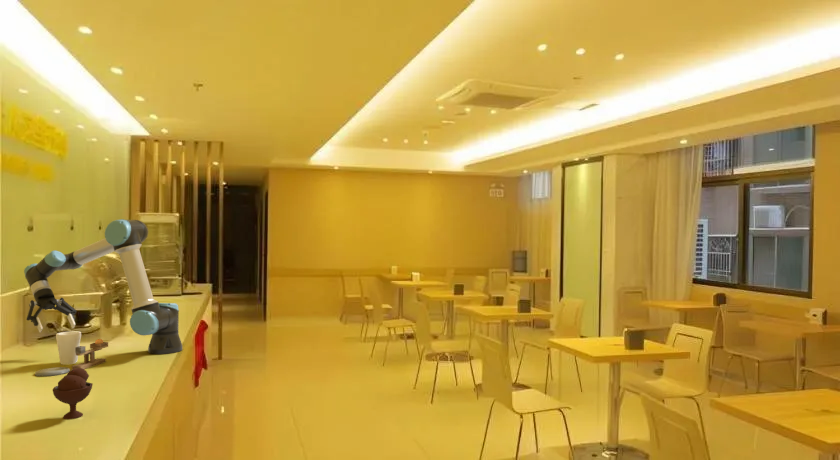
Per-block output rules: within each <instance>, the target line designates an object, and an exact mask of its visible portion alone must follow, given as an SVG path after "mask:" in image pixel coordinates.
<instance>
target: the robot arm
mask: <svg viewBox="0 0 840 460" xmlns="http://www.w3.org/2000/svg"><path fill="white" fill-rule="evenodd" d="M148 235H149V229H148V227H147V225H146V223H144V222H143V221H141V220H138V219H124V218H121V219H115V220H111V221H110V222H109V223H108V224H107V226H106V227H105V231H104V238H102V239H100V240H98V241H95V242H92V243H91V244H88V245H86V246H83V247H81V248H79V249H76V250H73V251H72V252H69V253H65V254H64V253H63V252H61V251H58V250H54V249H53V250H51V251H50V252H49V253H47V254H46V255H45V256H44V257H43V258H42V259H41V260H40V261H39V262H38V263H32V264H31V263H30V265H27V266H25V268H24V269H23V273H24V277H25V279H26V281H27V284H28V286H29V287H30V291H31V293H32V296H33V298H34V300H35V301H34V300H33V299H32V300H30V302H29V303H28V306H29V309H28V312H27V317H26V321H30V322H31V323H32V324H33V325H34V327H36V328H37V330H38V332H39V333H40V334H41V333H42V331H43V330H44V327H43V325H42V323H41V319H40V318H39V317H40V316H39V315H40V313H41V312H42V311H43V310H45V311H48V310H54V311H57V312H59V313H62V314H64V315H66V317H67V318H66V319H67V320H68V322H69V325H70V327H71V329H74V328H75V327H76V325H77V324H76V322H75V320H76V317H75V315H76V314H77V310H76V308H74V307H73V306H72V305H70V304H69V303H68V302H67V301H66V300H65V299H64V298H63V297H60V298H59V299H57V298H56V297H55V293H54V292H53V289H52V287H51V285H50V282H49V280H48V278H49V277H50V276H52V275H53V274H54V273H55V272H56V271H57V272H58V271H59V272H60V271H67V270H76V269H80V268H81V267H82V266H83V265H85V264H87V263H90V262H92V261H94V260H97V259H99V258H101V257H104V256H107V255H109V254H111V253H113V252H114V253H116V254H118V255H119V258H120V262H121V265H122V270H123V272H124V276H125V279H126V282H127V286H128V288H129V289H128V290H129V293H130V295H131V296H130V297H131V300H132V304H133V305H132V307H131V309H130V311H131V313H132V315H131V316H130V317H131V318H130V319H129V326H130V329H131V330H133V332H134V333H135V334H137V335H139V336H151V337H150V338H151V339H150V340H149V341H150V342H149V344H148V347H147V348H148V349H147V350H148V351H147V352H148V353H149V354H152V355H153V354H154V355H162V354H165V355H166V354H172V353H177V352H181V351H183V343H182V340H181V337H180V334H179V312H180V310H179V305H178V304H177V303H174V302H173V303H171V302H169V303H168V302H159V301H158V300H156V299H154V295H153V292H152V289H151V285H150V281H149V278H148V275H147V271H146V268H145V265H144V264H145V263H144V261H143V257H142V254H141V251H140V248H141V247H142V246H143V245H142V243H144V242H145V241H146V240H147V238H148ZM36 306H38V308H37V310H36V311H35V313H34V314H33V312H34V308H35V307H36ZM38 316H39V317H38Z"/></svg>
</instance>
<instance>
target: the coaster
mask: <svg viewBox="0 0 840 460" xmlns="http://www.w3.org/2000/svg"><path fill="white" fill-rule="evenodd" d="M70 370H71V369H70V368H69V367H62V366H60V367H50V368H43V369H39V370H36V371H35V372H34V375H35V376H36V377H54V376H55V377H56V376H61V375H65V374H68V372H69V371H70Z"/></svg>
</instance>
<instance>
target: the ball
mask: <svg viewBox="0 0 840 460" xmlns="http://www.w3.org/2000/svg"><path fill="white" fill-rule="evenodd" d="M103 342H104V340H103V339H101V338H97V339H96V340H95V341H94V343H95V344H102V343H103Z"/></svg>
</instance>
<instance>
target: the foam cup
mask: <svg viewBox="0 0 840 460" xmlns="http://www.w3.org/2000/svg"><path fill="white" fill-rule="evenodd" d="M81 338H82V332H81V331H74V330H73V331H72V330H71V331H62V332H57V333H56V334H55V340H56V344H57V352H58V356H59V362H60V364H61V365H73V364H77V363H78V359H79V356H78V355H76V354H75V347H78V346H81V344H80V343H81ZM76 362H77V363H76Z"/></svg>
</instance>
